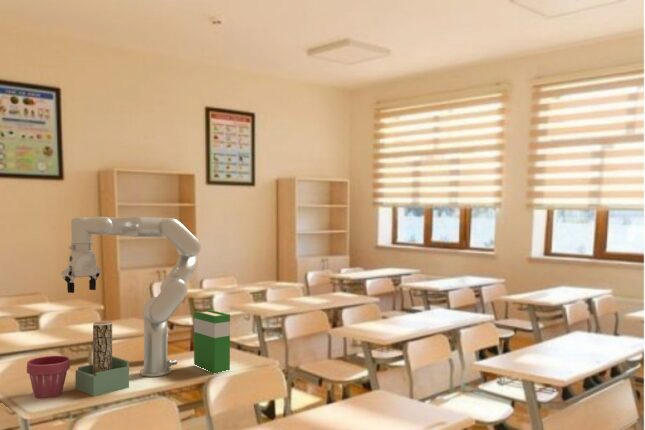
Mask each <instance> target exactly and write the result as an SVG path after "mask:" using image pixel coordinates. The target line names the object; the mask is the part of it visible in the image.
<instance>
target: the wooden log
mask: <svg viewBox="0 0 645 430" xmlns="http://www.w3.org/2000/svg"><path fill="white" fill-rule="evenodd" d="M112 356H113V321H112V320H99V321H94V322H93V324H92V364H93V375H94V376H95V373H98V372H102V371H107V370H112Z"/></svg>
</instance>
